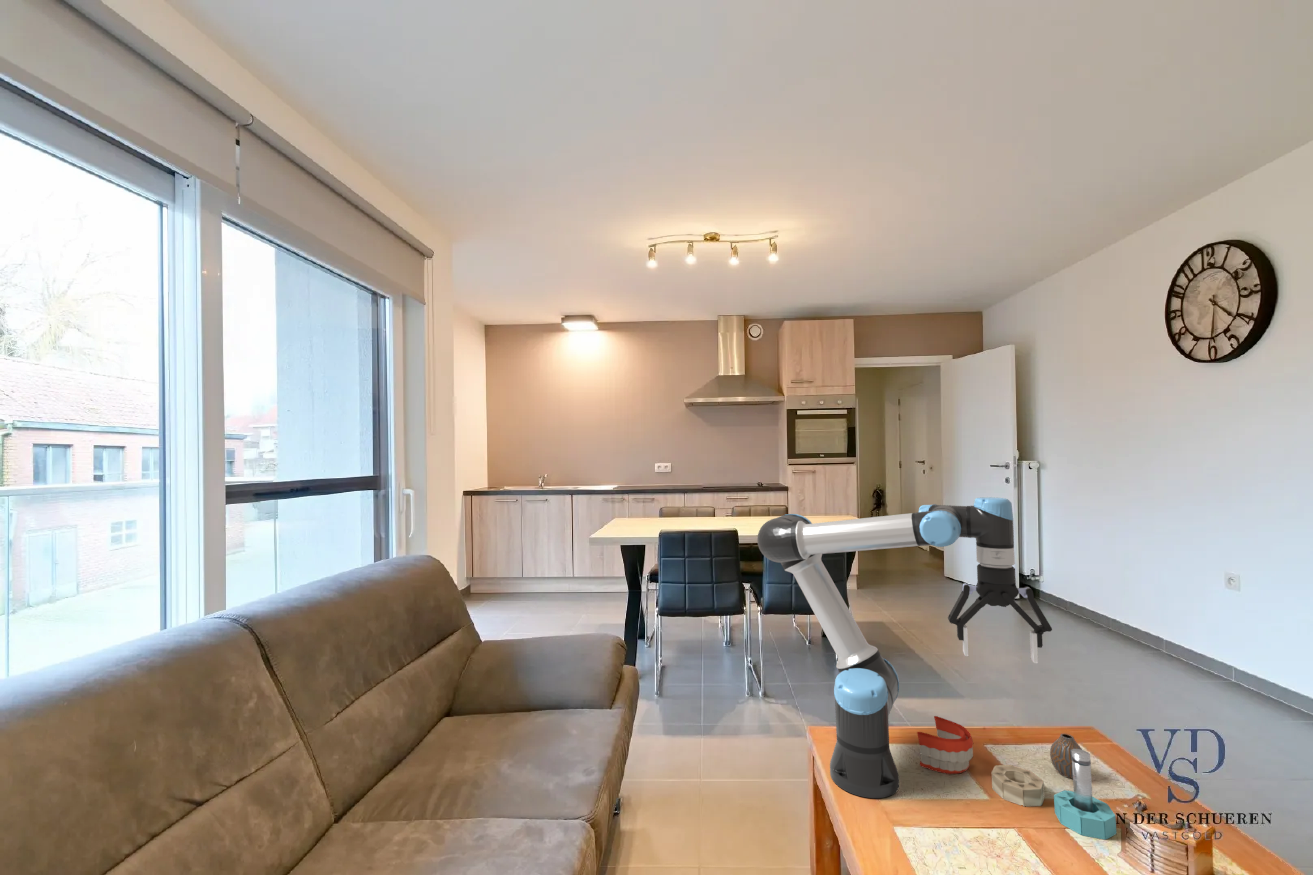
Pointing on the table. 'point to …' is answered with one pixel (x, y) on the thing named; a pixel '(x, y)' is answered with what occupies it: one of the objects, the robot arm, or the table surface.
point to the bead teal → (1085, 816)
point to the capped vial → (1082, 780)
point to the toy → (946, 748)
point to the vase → (1063, 754)
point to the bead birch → (1018, 785)
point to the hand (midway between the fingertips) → (999, 657)
